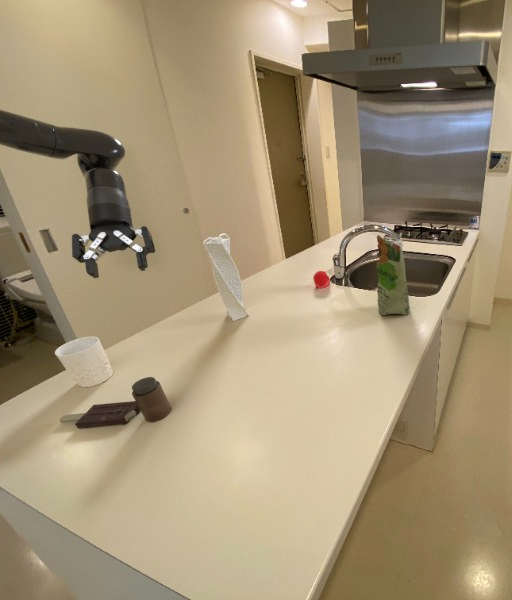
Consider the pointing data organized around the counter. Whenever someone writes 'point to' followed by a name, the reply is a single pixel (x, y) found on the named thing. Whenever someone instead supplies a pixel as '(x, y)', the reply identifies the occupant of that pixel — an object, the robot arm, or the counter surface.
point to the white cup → (85, 361)
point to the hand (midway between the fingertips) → (119, 272)
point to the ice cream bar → (104, 415)
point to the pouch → (391, 279)
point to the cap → (321, 280)
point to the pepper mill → (151, 399)
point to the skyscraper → (226, 276)
